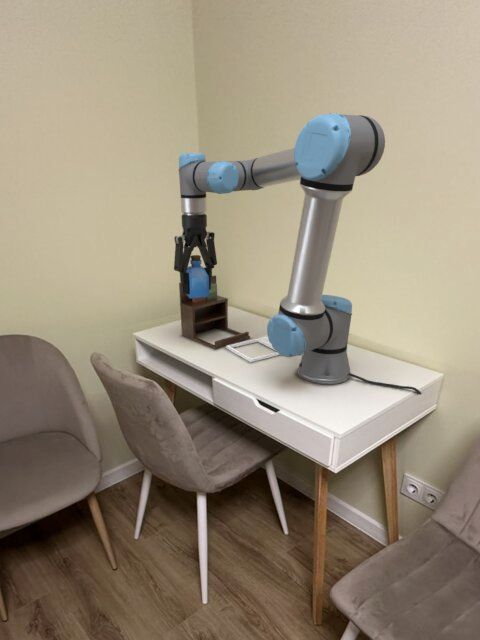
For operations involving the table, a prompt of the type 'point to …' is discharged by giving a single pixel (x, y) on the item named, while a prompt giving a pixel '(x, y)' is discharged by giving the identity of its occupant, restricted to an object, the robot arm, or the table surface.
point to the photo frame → (262, 340)
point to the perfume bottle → (197, 279)
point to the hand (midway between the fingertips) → (196, 291)
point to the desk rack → (207, 317)
